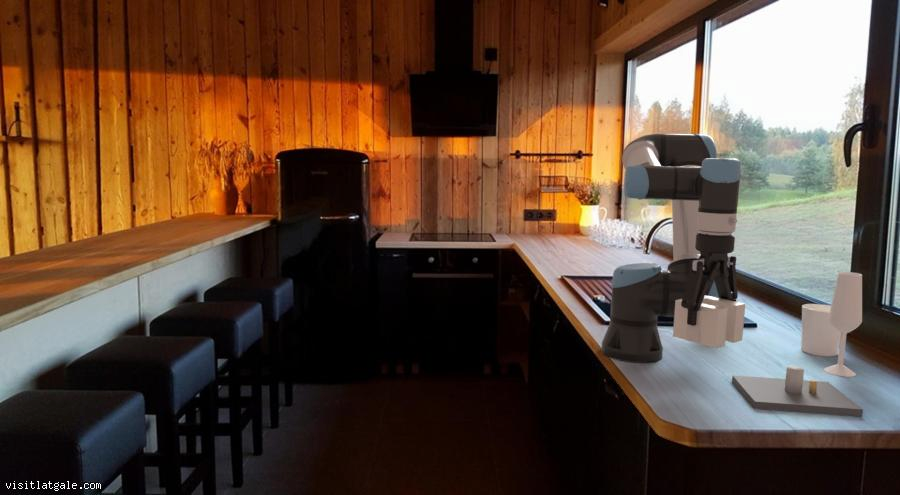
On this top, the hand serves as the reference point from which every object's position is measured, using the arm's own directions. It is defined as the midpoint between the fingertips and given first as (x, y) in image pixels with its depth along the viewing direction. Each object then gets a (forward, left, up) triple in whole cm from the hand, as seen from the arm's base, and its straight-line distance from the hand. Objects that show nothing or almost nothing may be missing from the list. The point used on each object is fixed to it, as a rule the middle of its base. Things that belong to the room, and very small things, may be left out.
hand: (707, 335), depth 134 cm
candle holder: (+38, +38, -13) cm, 55 cm away
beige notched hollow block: (0, 0, -1) cm, 1 cm away
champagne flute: (+36, +21, -13) cm, 43 cm away
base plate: (+18, 0, -12) cm, 22 cm away
